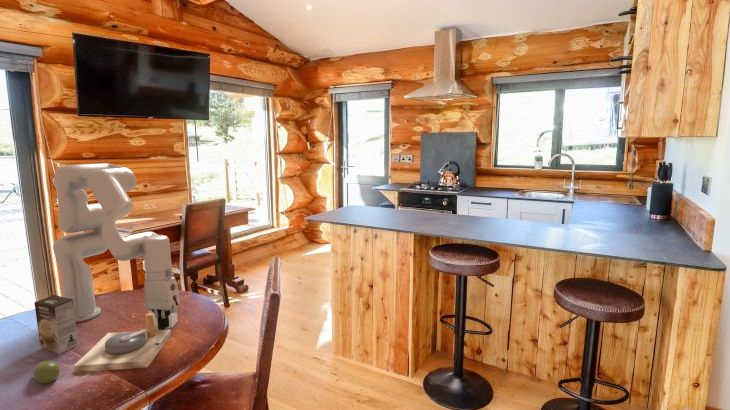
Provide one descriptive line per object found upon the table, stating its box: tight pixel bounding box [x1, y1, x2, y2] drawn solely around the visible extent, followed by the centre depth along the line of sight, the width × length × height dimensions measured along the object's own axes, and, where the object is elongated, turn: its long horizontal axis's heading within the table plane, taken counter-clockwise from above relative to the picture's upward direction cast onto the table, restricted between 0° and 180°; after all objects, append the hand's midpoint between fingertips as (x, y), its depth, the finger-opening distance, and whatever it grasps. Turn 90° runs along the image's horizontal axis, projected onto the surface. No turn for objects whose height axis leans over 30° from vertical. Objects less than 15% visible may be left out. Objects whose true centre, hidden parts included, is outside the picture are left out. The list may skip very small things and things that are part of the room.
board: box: [73, 328, 172, 373], centre depth 128 cm, size 20×20×2 cm
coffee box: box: [34, 294, 79, 355], centre depth 130 cm, size 9×6×16 cm
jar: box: [148, 310, 178, 330], centre depth 145 cm, size 9×8×12 cm
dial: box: [105, 312, 155, 355], centre depth 129 cm, size 15×11×7 cm
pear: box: [33, 360, 61, 384], centre depth 114 cm, size 6×5×10 cm
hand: (163, 327), depth 132 cm, fingers closed
